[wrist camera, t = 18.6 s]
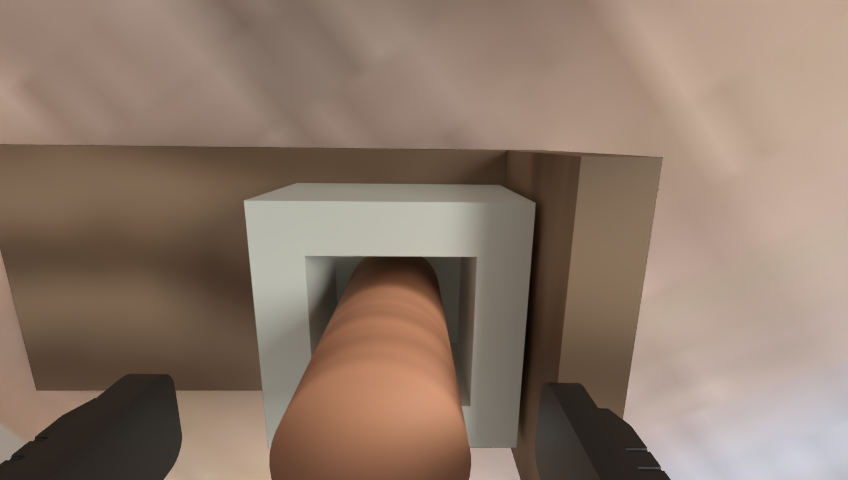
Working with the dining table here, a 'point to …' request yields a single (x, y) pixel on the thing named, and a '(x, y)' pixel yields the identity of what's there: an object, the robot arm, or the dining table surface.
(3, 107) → the dining table surface
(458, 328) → the hole block
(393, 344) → the dowel
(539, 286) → the walnut angle bracket
